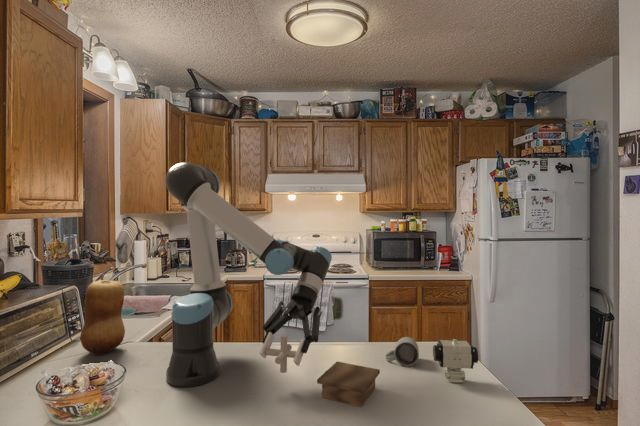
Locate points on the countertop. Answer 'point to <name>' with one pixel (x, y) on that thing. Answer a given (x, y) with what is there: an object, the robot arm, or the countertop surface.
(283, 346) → the pipe connector
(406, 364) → the ceramic mug
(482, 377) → the countertop surface
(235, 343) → the countertop surface
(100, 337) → the butternut squash
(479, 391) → the countertop surface
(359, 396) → the walnut stand
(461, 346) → the pneumatic valve
